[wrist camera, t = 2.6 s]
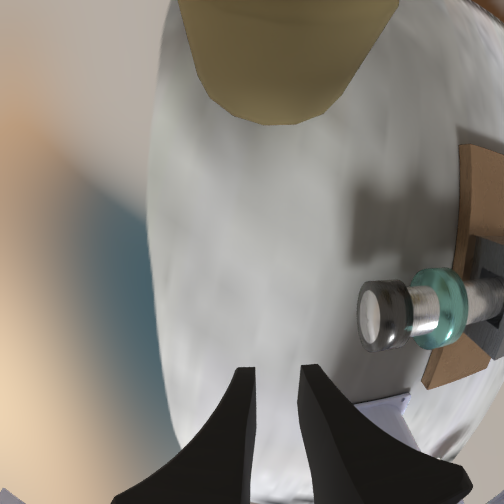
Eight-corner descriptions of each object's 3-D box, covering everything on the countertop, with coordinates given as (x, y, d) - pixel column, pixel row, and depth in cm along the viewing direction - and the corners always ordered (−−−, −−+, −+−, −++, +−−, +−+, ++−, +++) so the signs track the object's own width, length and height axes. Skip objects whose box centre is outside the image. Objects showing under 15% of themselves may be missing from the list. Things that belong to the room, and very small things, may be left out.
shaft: (350, 332, 17) (376, 378, 12) (358, 261, 16) (396, 292, 11) (491, 307, 17) (524, 331, 12) (503, 254, 15) (541, 271, 11)
